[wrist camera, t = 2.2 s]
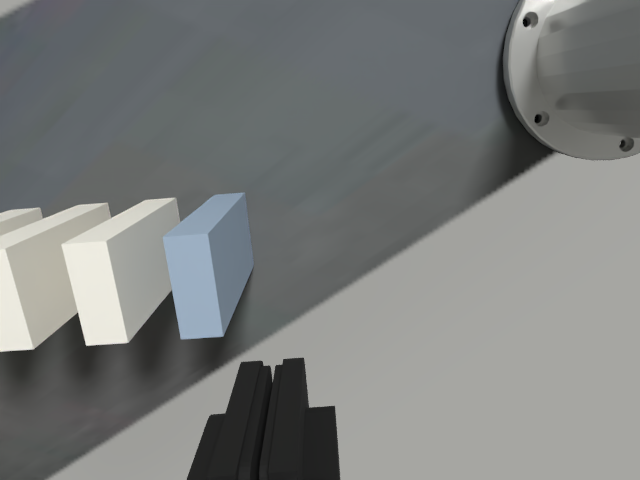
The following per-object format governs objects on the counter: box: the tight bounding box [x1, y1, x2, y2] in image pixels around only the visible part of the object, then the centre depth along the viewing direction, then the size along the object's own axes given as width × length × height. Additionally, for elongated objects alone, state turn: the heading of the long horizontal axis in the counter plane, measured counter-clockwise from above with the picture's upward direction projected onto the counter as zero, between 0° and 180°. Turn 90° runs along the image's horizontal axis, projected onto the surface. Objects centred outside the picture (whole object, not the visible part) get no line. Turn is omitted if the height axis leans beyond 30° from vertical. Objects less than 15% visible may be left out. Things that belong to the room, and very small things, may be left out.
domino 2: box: [61, 198, 180, 346], centre depth 25 cm, size 2×5×10 cm, turn 4°
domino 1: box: [0, 203, 111, 352], centre depth 26 cm, size 2×5×10 cm, turn 4°
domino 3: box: [163, 193, 254, 339], centre depth 25 cm, size 2×5×10 cm, turn 4°
